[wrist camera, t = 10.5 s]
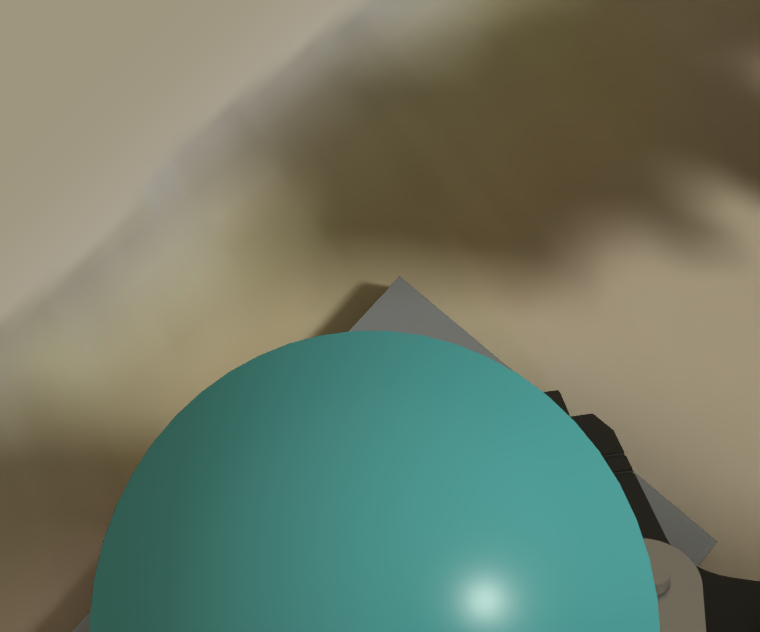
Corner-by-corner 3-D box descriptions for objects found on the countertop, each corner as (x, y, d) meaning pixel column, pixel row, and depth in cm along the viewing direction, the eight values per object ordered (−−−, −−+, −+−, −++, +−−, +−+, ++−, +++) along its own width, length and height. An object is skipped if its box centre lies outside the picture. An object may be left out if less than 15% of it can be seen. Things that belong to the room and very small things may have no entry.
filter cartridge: (414, 402, 19) (352, 230, 7) (564, 536, 17) (785, 594, 6) (283, 546, 18) (-19, 618, 6) (429, 697, 17) (380, 1121, 5)
